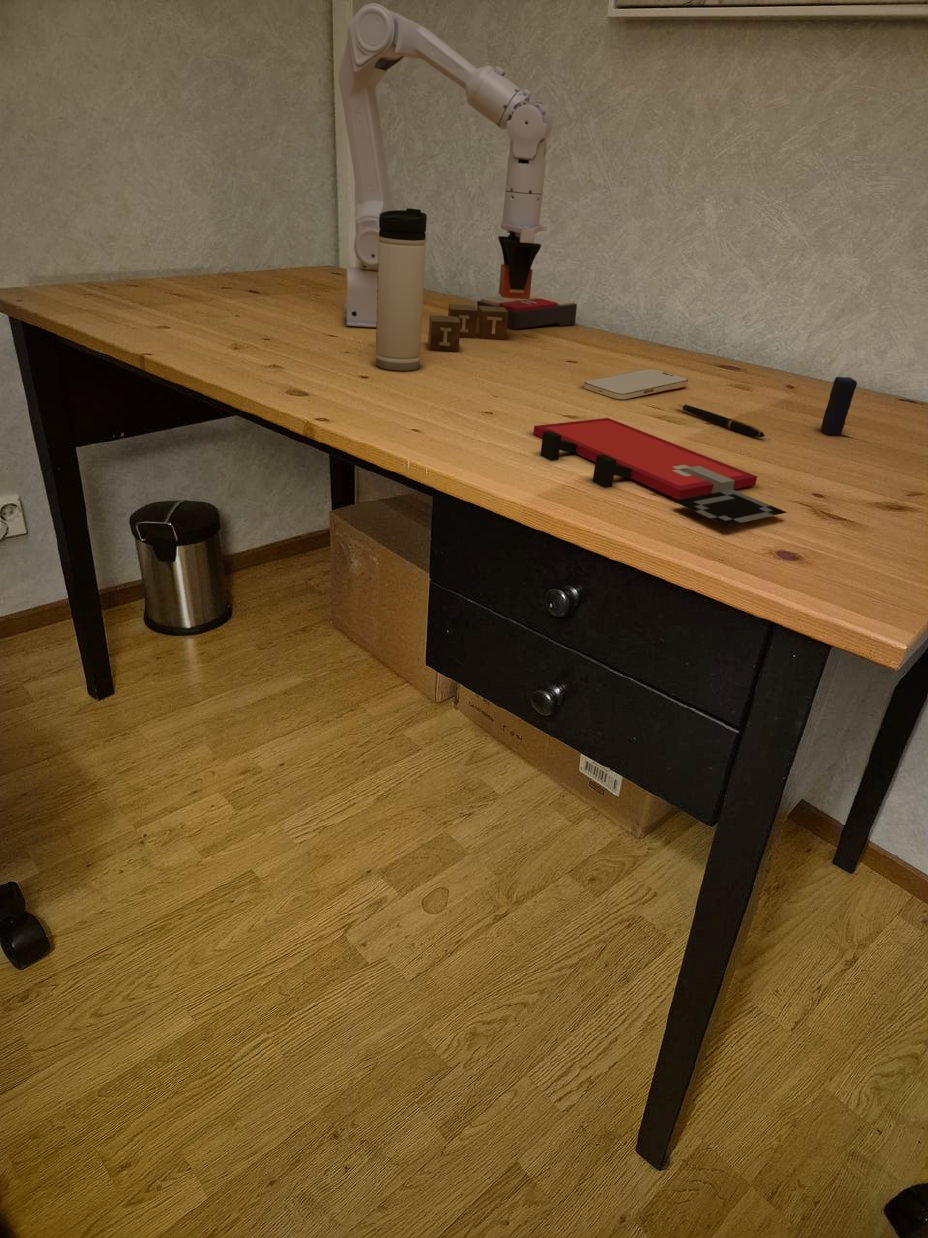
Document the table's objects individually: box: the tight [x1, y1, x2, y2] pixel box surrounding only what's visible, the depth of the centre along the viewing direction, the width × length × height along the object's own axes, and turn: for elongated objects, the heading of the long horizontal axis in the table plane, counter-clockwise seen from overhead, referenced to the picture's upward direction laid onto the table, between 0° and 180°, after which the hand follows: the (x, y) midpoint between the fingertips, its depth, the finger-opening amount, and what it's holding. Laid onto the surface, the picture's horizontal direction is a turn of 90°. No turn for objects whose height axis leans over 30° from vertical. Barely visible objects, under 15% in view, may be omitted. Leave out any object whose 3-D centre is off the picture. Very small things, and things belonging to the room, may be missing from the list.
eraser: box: [820, 376, 858, 437], centre depth 106 cm, size 2×2×7 cm
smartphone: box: [583, 368, 689, 400], centre depth 120 cm, size 7×1×15 cm
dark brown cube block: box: [447, 303, 478, 339], centre depth 143 cm, size 4×4×4 cm
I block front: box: [427, 314, 461, 353], centre depth 133 cm, size 4×4×4 cm
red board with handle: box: [532, 417, 788, 527], centre depth 89 cm, size 30×3×15 cm
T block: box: [476, 306, 508, 341], centre depth 143 cm, size 4×4×4 cm
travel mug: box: [374, 207, 428, 372], centre depth 117 cm, size 6×7×20 cm
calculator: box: [476, 292, 578, 330], centre depth 157 cm, size 11×4×15 cm
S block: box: [498, 263, 534, 299], centre depth 138 cm, size 4×4×4 cm
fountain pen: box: [676, 403, 766, 438], centre depth 107 cm, size 14×1×2 cm, turn 35°
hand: (514, 286), depth 138 cm, fingers closed on S block, 4 cm apart
